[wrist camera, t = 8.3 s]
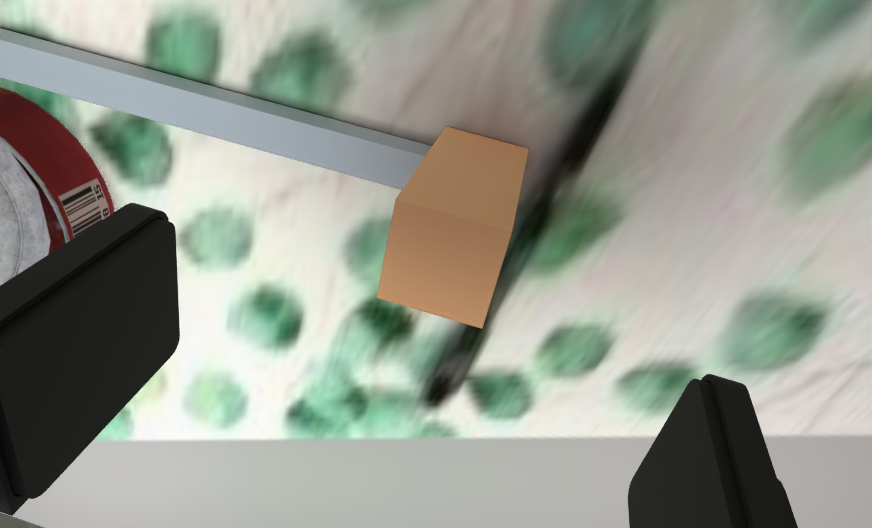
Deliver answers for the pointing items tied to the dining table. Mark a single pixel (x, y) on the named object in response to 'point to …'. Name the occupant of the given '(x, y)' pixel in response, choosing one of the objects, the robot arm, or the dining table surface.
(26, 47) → the pull rod
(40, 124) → the canned food
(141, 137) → the dining table surface
